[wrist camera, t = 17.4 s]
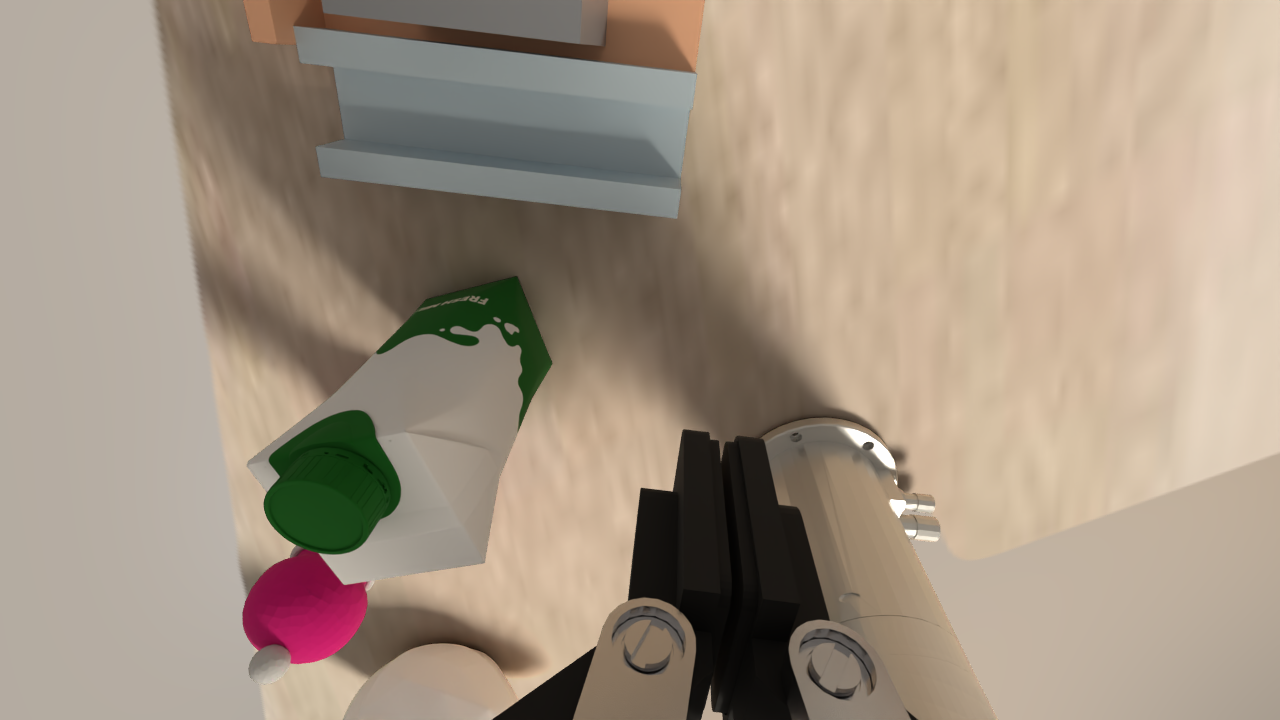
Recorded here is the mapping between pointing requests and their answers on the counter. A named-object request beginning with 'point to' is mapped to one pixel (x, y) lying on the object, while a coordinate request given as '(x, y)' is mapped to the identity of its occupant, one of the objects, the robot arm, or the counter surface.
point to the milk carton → (411, 441)
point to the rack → (506, 104)
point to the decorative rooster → (434, 687)
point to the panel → (491, 16)
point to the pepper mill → (300, 614)
